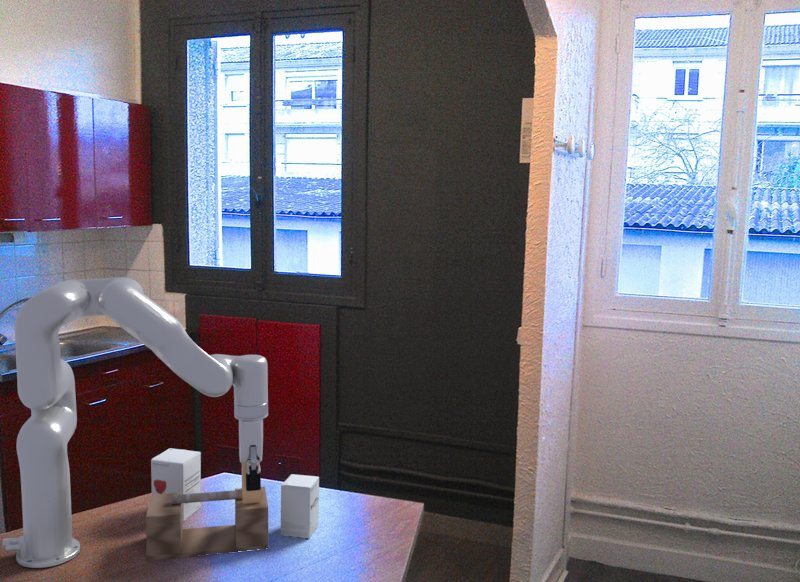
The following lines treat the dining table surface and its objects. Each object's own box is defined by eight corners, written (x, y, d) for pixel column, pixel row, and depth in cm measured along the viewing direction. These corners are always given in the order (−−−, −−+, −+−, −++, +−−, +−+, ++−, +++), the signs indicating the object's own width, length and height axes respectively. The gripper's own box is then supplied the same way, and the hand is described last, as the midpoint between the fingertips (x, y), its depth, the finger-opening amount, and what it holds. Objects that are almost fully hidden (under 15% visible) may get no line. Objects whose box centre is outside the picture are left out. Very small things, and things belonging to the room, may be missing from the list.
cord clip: (242, 503, 165) (242, 472, 164) (241, 493, 171) (241, 462, 170) (260, 502, 166) (260, 470, 165) (259, 492, 172) (259, 461, 171)
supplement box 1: (150, 517, 180) (149, 459, 178) (170, 503, 188) (169, 447, 186) (183, 522, 178) (182, 463, 176) (202, 507, 186) (201, 450, 184)
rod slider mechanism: (146, 560, 159) (145, 508, 157) (151, 535, 170) (150, 486, 169) (268, 549, 165) (268, 498, 163) (264, 526, 177) (264, 478, 175)
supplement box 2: (309, 539, 170) (310, 487, 169) (279, 536, 172) (279, 484, 170) (319, 525, 178) (320, 476, 176) (290, 522, 179) (290, 473, 177)
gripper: (233, 400, 173) (234, 469, 176) (235, 422, 157) (236, 498, 159) (265, 398, 175) (266, 466, 177) (270, 420, 159) (271, 495, 161)
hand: (252, 481), depth 168 cm, fingers open, 9 cm apart
